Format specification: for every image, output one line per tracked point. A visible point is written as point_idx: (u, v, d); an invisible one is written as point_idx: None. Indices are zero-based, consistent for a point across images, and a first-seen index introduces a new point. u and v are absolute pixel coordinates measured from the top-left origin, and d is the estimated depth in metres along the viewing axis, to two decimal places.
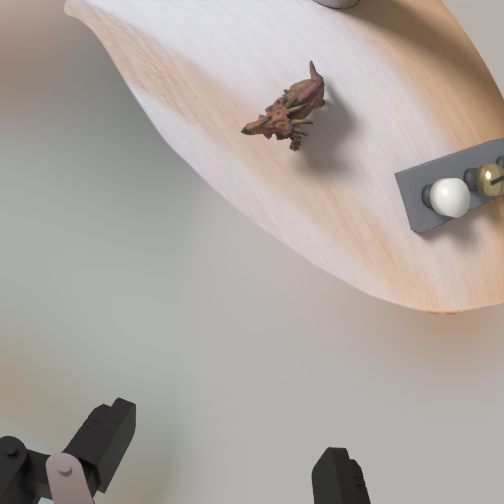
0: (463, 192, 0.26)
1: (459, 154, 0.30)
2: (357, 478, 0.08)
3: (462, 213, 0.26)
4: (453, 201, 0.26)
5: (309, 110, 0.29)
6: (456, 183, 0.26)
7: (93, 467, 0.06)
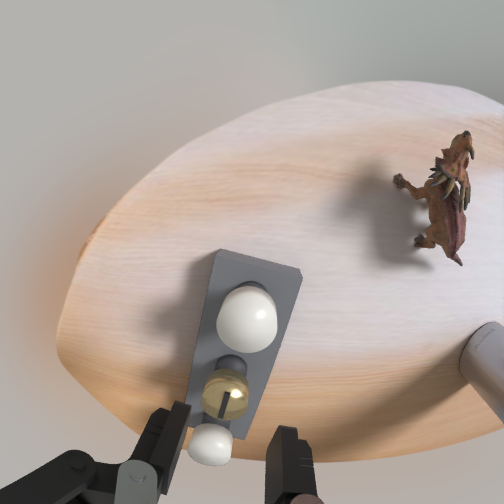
0: (245, 342, 0.21)
1: (270, 369, 0.28)
2: (305, 458, 0.09)
3: (219, 324, 0.21)
4: (246, 318, 0.20)
5: (438, 214, 0.22)
6: (265, 338, 0.21)
7: (164, 470, 0.07)
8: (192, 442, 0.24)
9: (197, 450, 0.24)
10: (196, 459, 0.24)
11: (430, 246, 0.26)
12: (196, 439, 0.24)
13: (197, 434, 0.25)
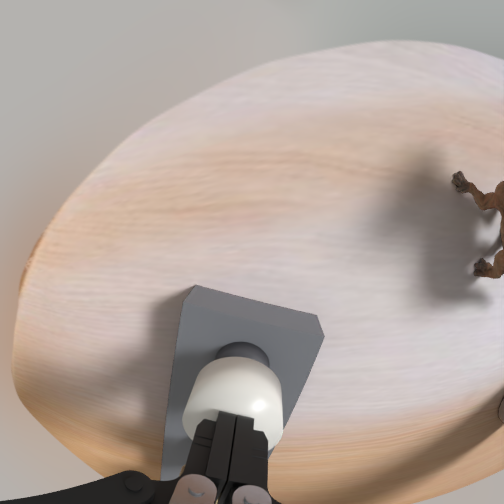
0: None
1: None
2: (260, 450, 0.09)
3: (188, 422, 0.11)
4: None
5: None
6: None
7: (219, 482, 0.07)
8: None
9: None
10: None
11: (496, 276, 0.15)
12: None
13: None
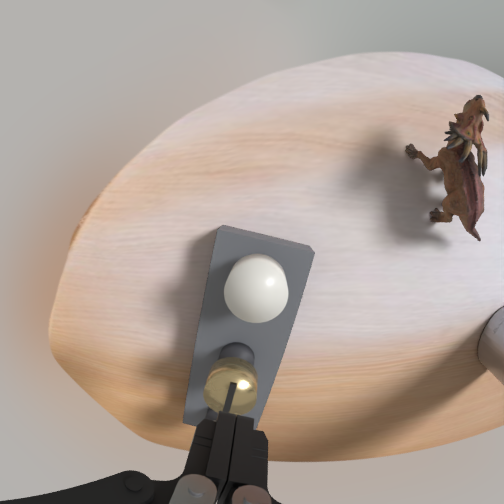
0: (255, 310, 0.20)
1: (280, 358, 0.25)
2: (260, 450, 0.09)
3: (227, 291, 0.20)
4: (255, 284, 0.20)
5: (456, 182, 0.19)
6: (276, 306, 0.20)
7: (219, 482, 0.07)
8: None
9: None
10: None
11: (447, 219, 0.23)
12: None
13: None
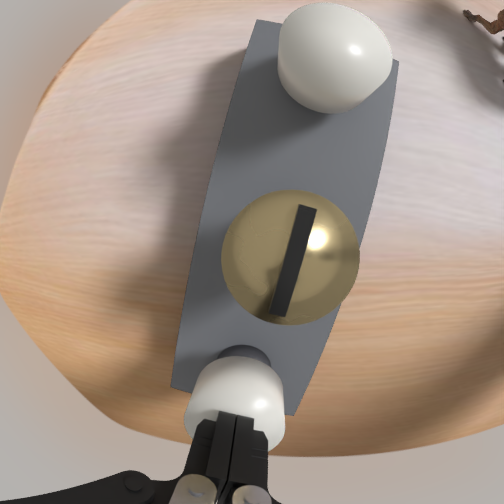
0: (339, 71, 0.09)
1: (360, 235, 0.14)
2: (260, 450, 0.09)
3: (286, 36, 0.08)
4: (335, 30, 0.08)
5: None
6: (375, 69, 0.08)
7: (219, 482, 0.07)
8: (196, 398, 0.11)
9: None
10: None
11: None
12: (206, 388, 0.11)
13: (207, 379, 0.12)
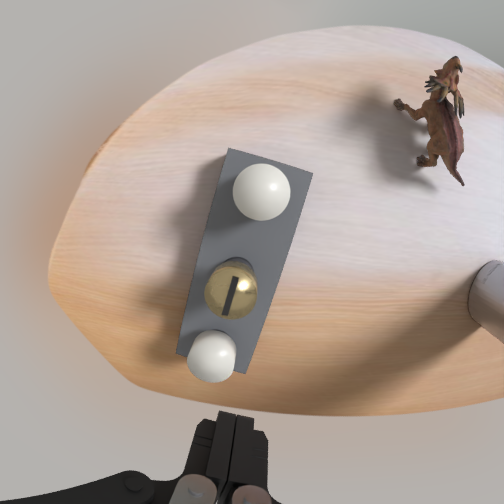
0: (260, 208, 0.22)
1: (278, 276, 0.28)
2: (260, 450, 0.09)
3: (236, 188, 0.22)
4: (261, 183, 0.22)
5: (437, 125, 0.22)
6: (279, 205, 0.22)
7: (219, 482, 0.07)
8: (193, 347, 0.25)
9: (197, 358, 0.25)
10: (195, 373, 0.26)
11: (432, 163, 0.26)
12: (198, 343, 0.26)
13: (199, 339, 0.26)
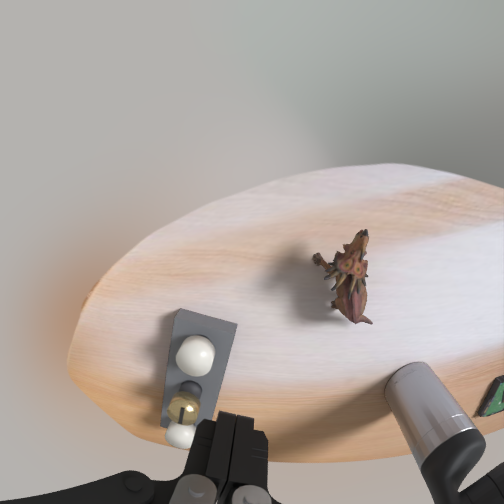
0: (193, 370, 0.33)
1: (218, 391, 0.38)
2: (260, 450, 0.09)
3: (177, 359, 0.33)
4: (192, 357, 0.33)
5: (339, 293, 0.32)
6: (205, 369, 0.33)
7: (219, 482, 0.07)
8: (167, 431, 0.36)
9: (171, 436, 0.36)
10: (171, 443, 0.36)
11: None
12: (170, 428, 0.36)
13: (171, 425, 0.37)
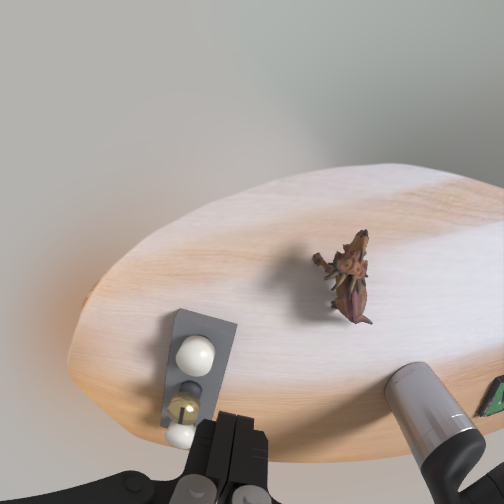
0: (193, 370, 0.33)
1: (218, 391, 0.38)
2: (260, 450, 0.09)
3: (177, 359, 0.33)
4: (192, 357, 0.33)
5: (339, 293, 0.32)
6: (205, 369, 0.33)
7: (219, 482, 0.07)
8: (167, 431, 0.36)
9: (171, 437, 0.36)
10: (171, 443, 0.36)
11: None
12: (170, 428, 0.36)
13: (171, 425, 0.37)
